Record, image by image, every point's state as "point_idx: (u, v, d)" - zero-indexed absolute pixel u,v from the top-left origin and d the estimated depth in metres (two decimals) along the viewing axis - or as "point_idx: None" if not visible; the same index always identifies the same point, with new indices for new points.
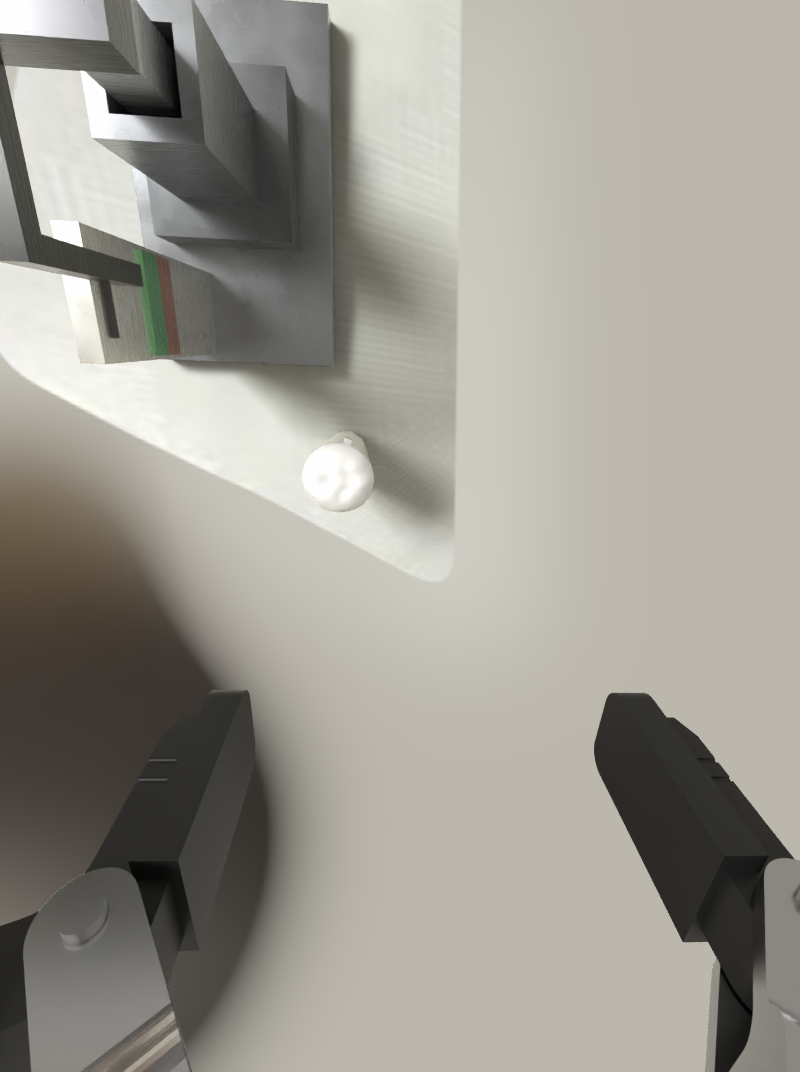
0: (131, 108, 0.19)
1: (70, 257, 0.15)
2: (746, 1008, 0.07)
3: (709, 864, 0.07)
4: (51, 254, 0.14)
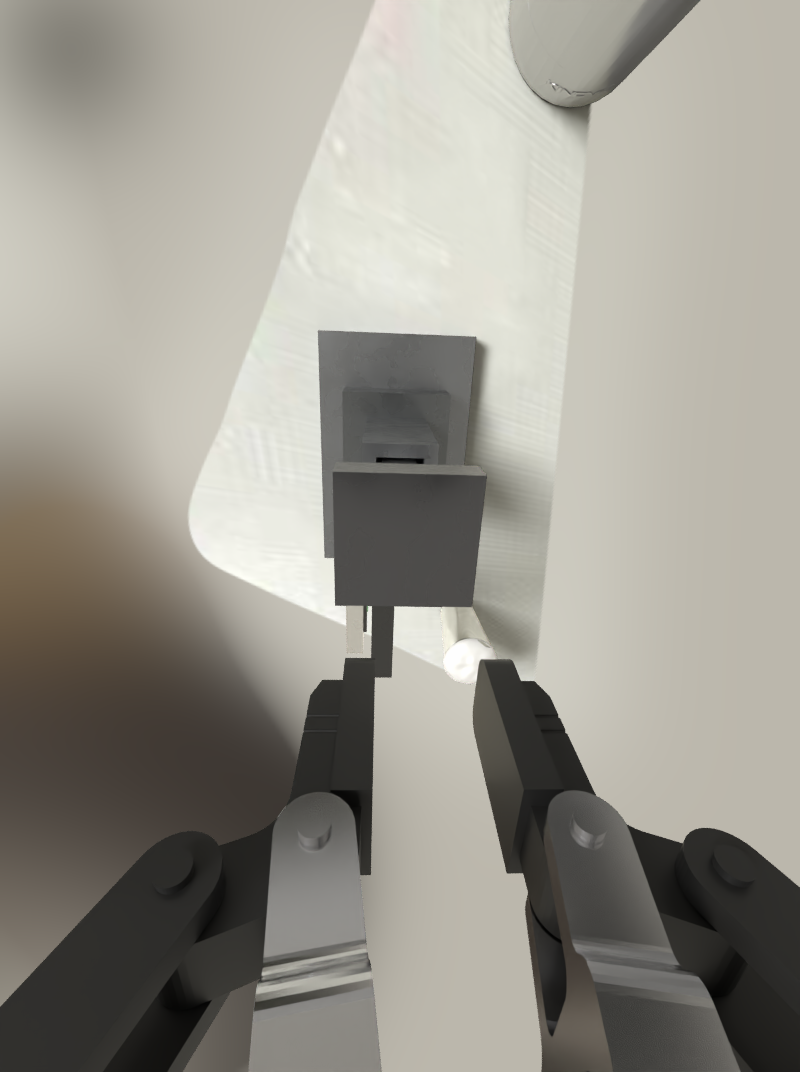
0: None
1: None
2: (556, 938, 0.07)
3: (518, 799, 0.08)
4: None
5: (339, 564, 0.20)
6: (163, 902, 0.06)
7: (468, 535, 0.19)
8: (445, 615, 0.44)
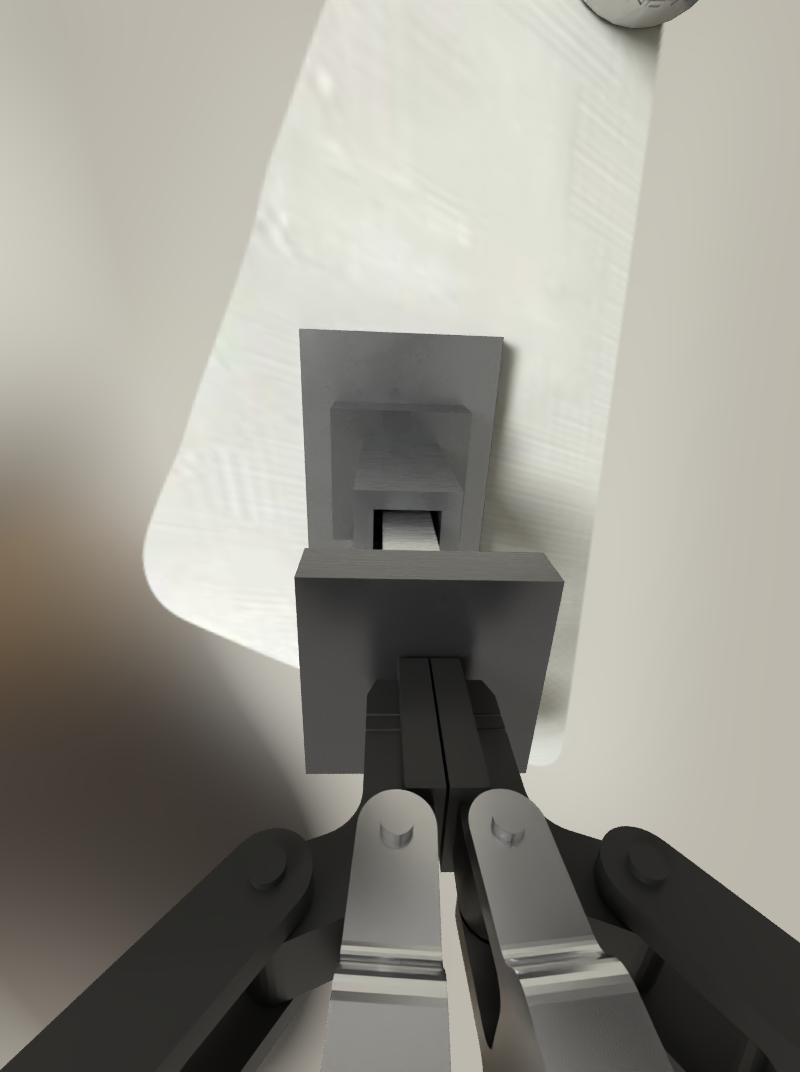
0: None
1: None
2: (486, 942, 0.07)
3: (447, 797, 0.08)
4: None
5: (311, 716, 0.12)
6: (261, 898, 0.06)
7: (526, 672, 0.11)
8: None
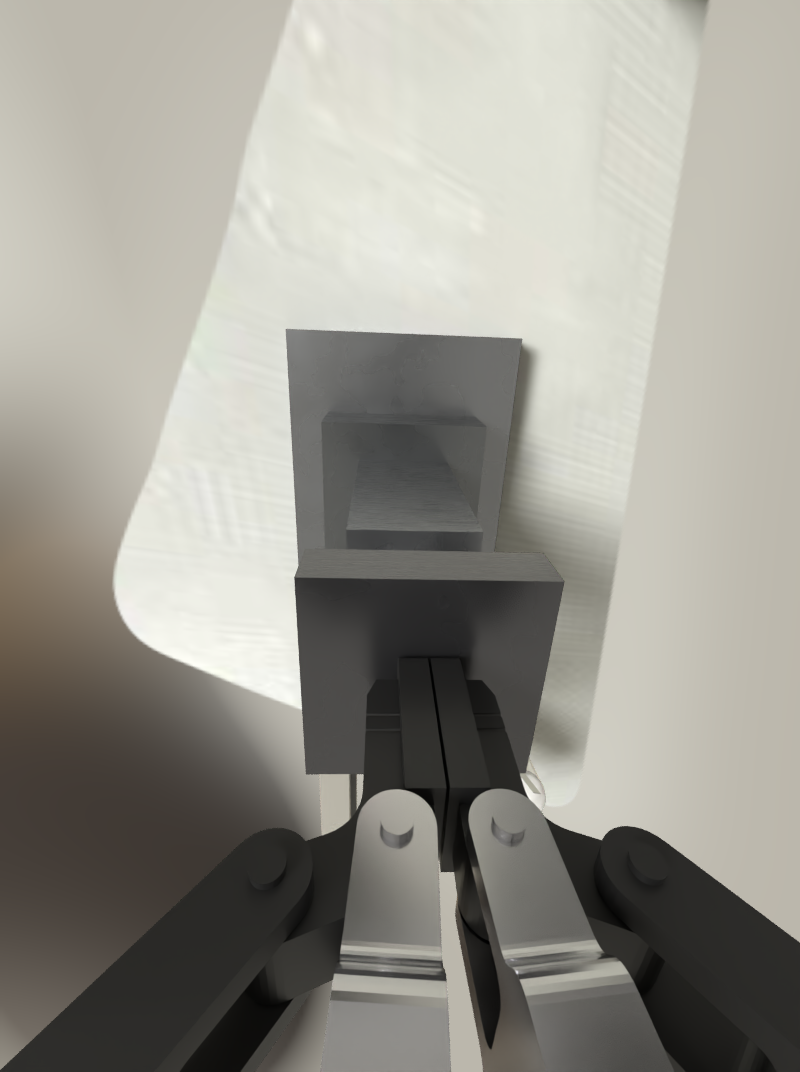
0: None
1: None
2: (487, 941, 0.07)
3: (447, 797, 0.08)
4: None
5: (311, 717, 0.12)
6: (261, 898, 0.06)
7: (527, 672, 0.11)
8: None
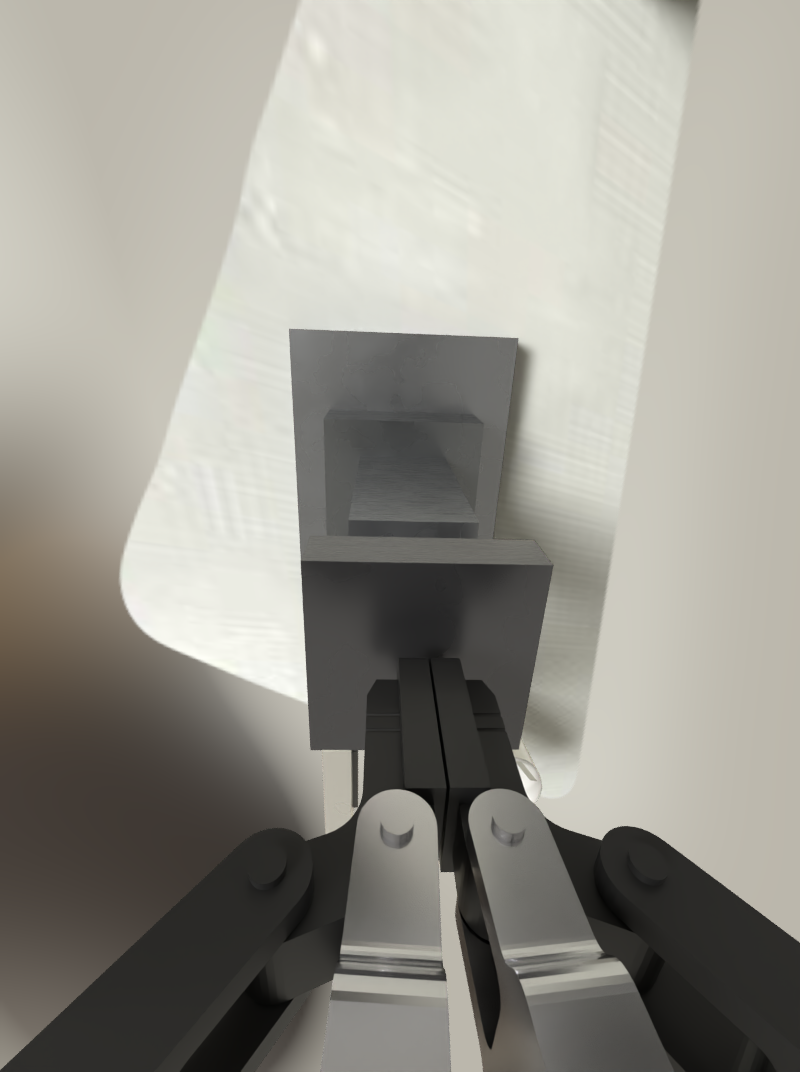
0: None
1: None
2: (487, 941, 0.07)
3: (447, 798, 0.08)
4: None
5: (315, 694, 0.12)
6: (261, 898, 0.06)
7: (519, 652, 0.12)
8: None
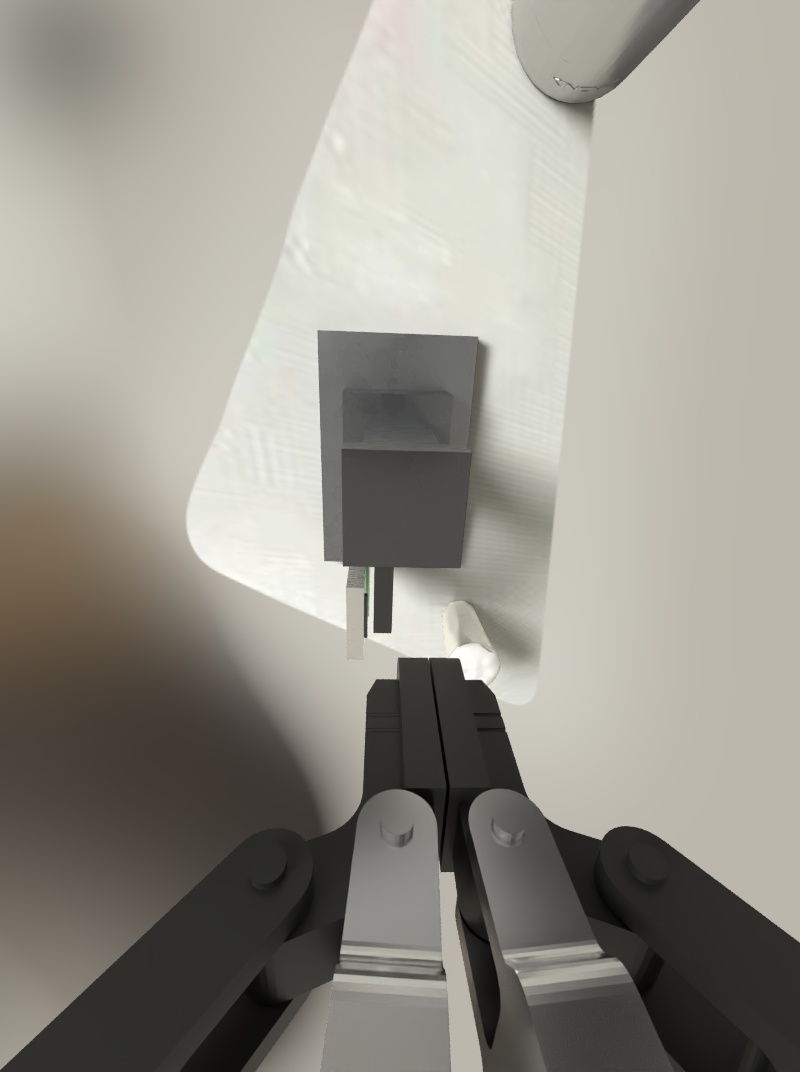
0: None
1: None
2: (486, 942, 0.07)
3: (447, 797, 0.08)
4: None
5: (346, 529, 0.23)
6: (261, 898, 0.06)
7: (456, 504, 0.23)
8: (447, 619, 0.44)
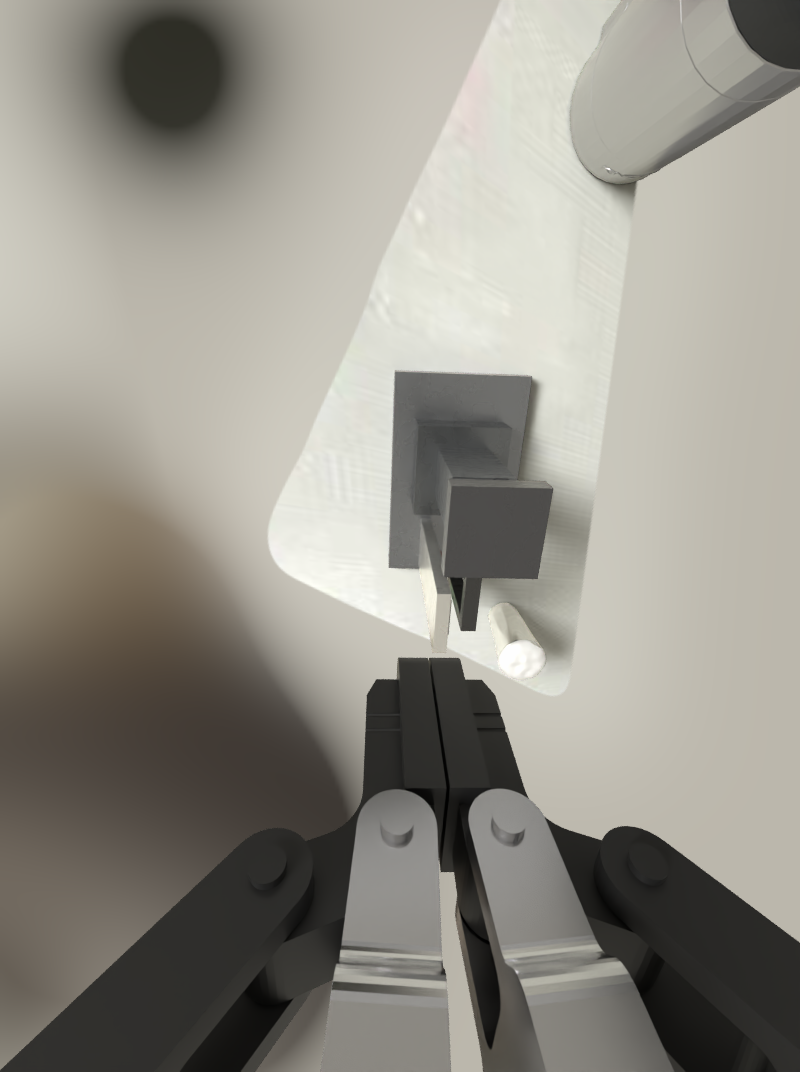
0: None
1: None
2: (487, 941, 0.07)
3: (447, 797, 0.08)
4: None
5: (449, 548, 0.29)
6: (261, 898, 0.06)
7: (538, 528, 0.28)
8: (494, 619, 0.50)
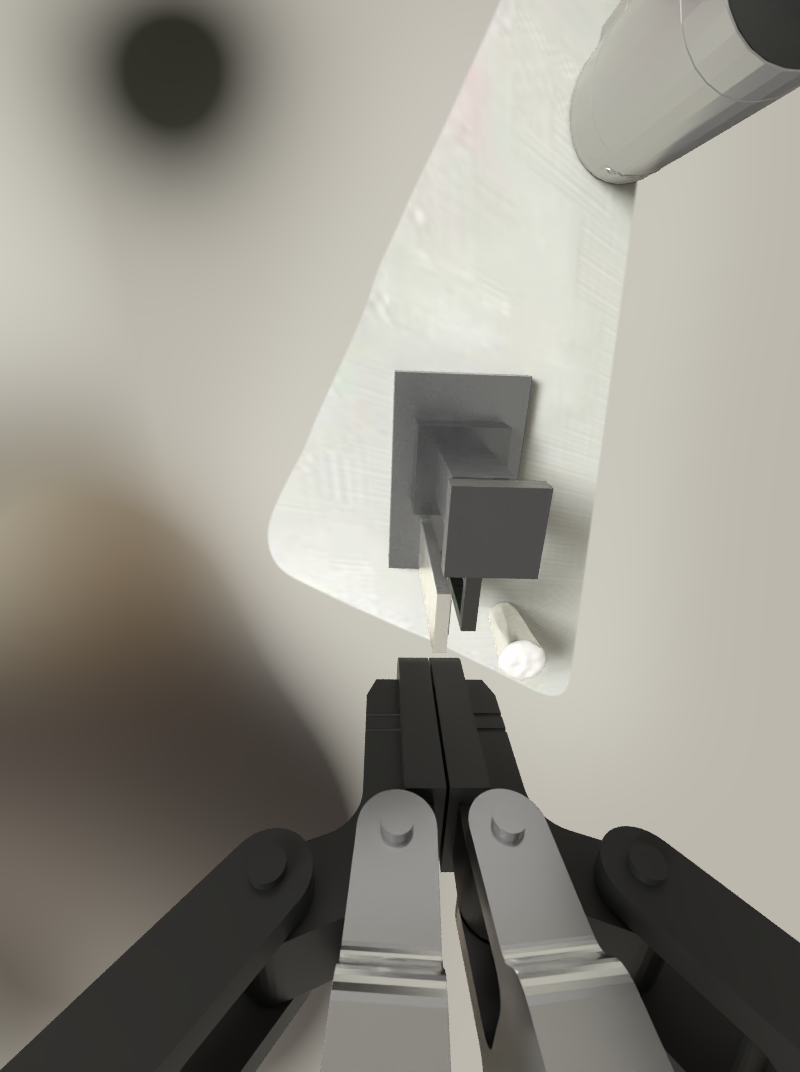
0: None
1: None
2: (487, 941, 0.07)
3: (447, 797, 0.08)
4: None
5: (449, 548, 0.29)
6: (261, 898, 0.06)
7: (538, 528, 0.28)
8: (494, 619, 0.50)
